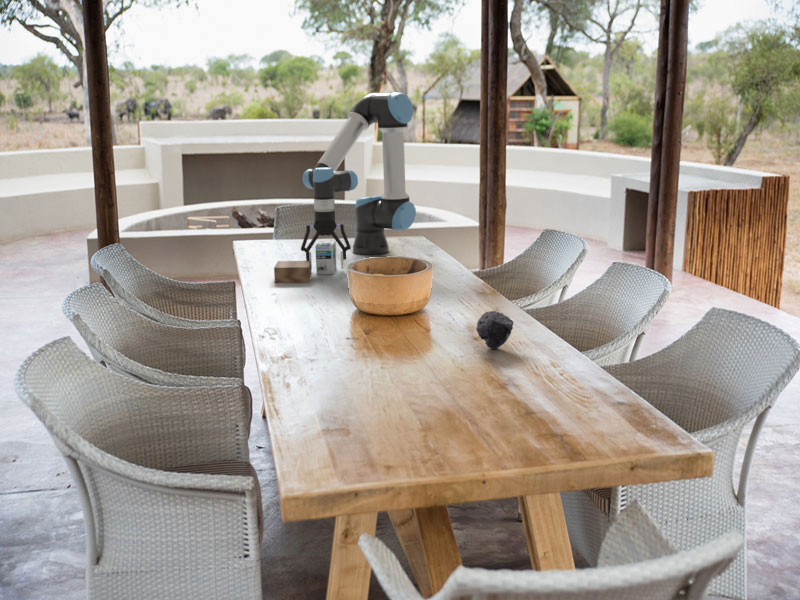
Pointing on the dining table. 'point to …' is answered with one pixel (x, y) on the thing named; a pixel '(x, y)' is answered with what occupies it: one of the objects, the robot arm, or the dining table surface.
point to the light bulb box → (326, 257)
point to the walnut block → (292, 271)
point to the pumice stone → (494, 328)
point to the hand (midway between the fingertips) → (326, 268)
